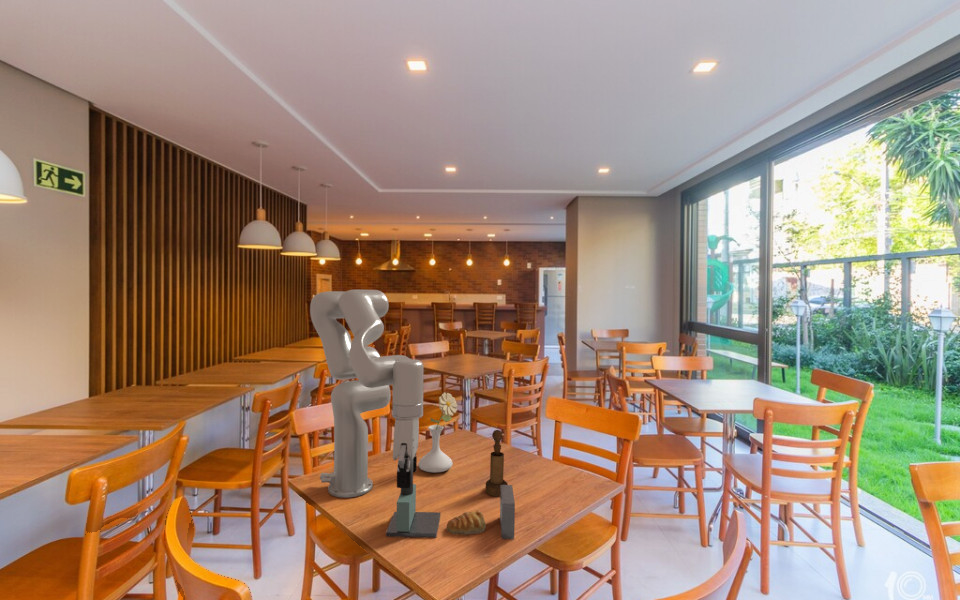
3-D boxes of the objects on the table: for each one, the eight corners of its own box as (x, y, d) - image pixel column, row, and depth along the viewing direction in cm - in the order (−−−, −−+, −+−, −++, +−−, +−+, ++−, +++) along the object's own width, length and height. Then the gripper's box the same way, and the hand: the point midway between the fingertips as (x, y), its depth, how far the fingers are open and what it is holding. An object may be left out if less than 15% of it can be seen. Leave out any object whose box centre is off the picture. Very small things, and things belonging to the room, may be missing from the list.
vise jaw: (396, 531, 104) (397, 464, 104) (404, 510, 114) (404, 449, 114) (409, 531, 104) (409, 464, 104) (415, 510, 114) (416, 449, 114)
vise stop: (501, 538, 104) (502, 503, 104) (500, 517, 114) (500, 484, 114) (514, 539, 104) (514, 503, 104) (511, 517, 114) (512, 485, 114)
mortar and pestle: (505, 497, 125) (506, 434, 125) (483, 495, 126) (484, 433, 126) (508, 487, 131) (509, 427, 131) (487, 485, 133) (488, 426, 132)
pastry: (450, 540, 103) (451, 524, 103) (443, 526, 110) (443, 511, 110) (487, 533, 107) (488, 517, 107) (478, 519, 113) (478, 505, 113)
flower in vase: (425, 478, 137) (426, 399, 136) (412, 465, 147) (413, 391, 146) (463, 470, 143) (464, 394, 143) (448, 459, 153) (449, 388, 153)
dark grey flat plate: (385, 536, 104) (385, 532, 104) (394, 515, 114) (394, 511, 114) (436, 537, 104) (436, 533, 104) (440, 516, 114) (440, 512, 114)
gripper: (399, 401, 117) (398, 465, 117) (384, 419, 100) (384, 495, 100) (427, 401, 117) (426, 465, 117) (417, 420, 100) (416, 495, 100)
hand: (407, 479), depth 109 cm, fingers open, 8 cm apart
